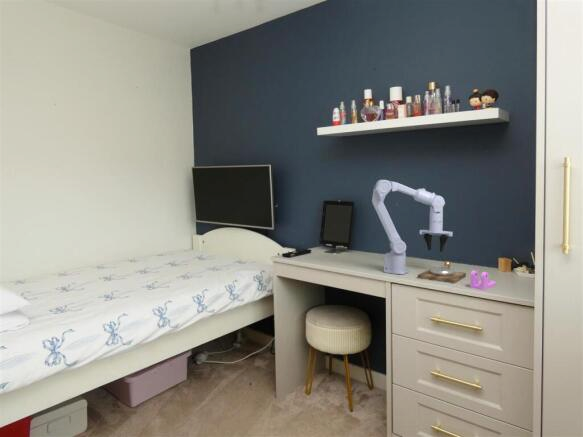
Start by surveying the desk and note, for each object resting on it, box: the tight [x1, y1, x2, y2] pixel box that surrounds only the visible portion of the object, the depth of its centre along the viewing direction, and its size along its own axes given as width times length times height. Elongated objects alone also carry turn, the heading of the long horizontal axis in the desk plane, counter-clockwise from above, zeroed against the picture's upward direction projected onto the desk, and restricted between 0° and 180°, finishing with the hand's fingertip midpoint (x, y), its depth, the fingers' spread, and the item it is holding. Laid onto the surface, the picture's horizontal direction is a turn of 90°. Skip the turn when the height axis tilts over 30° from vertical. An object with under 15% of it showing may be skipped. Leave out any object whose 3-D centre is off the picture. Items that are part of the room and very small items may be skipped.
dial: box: [429, 261, 455, 276], centre depth 191 cm, size 13×10×4 cm
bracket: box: [469, 269, 497, 291], centre depth 173 cm, size 13×6×7 cm, turn 132°
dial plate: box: [417, 268, 467, 284], centre depth 190 cm, size 16×16×2 cm
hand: (435, 250), depth 198 cm, fingers open, 5 cm apart
